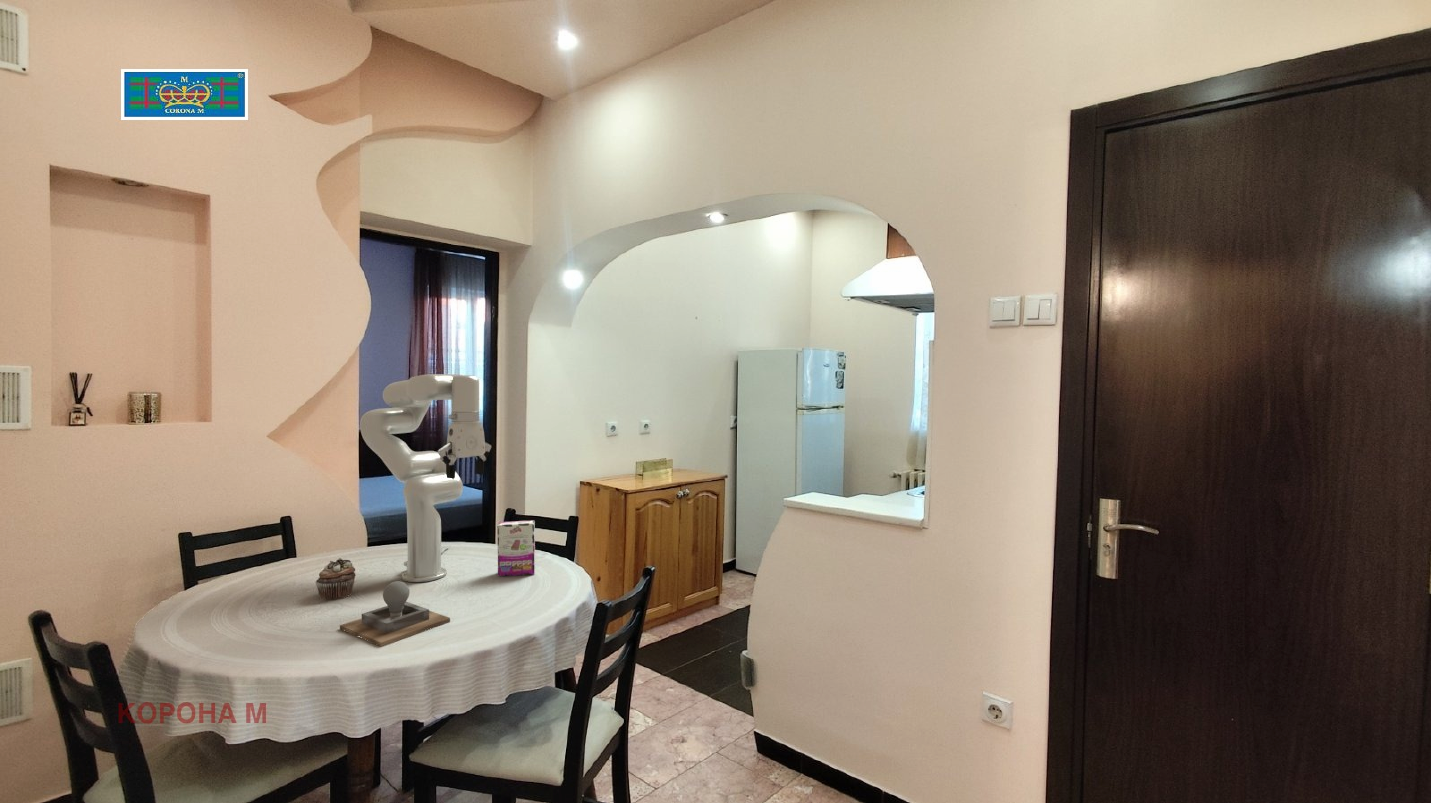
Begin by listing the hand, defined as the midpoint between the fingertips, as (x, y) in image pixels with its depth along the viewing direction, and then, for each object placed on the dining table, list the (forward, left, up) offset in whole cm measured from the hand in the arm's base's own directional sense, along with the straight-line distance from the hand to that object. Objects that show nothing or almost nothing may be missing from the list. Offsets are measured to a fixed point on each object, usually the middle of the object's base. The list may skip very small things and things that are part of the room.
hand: (465, 476), depth 186 cm
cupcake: (-25, -24, -34) cm, 48 cm away
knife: (-35, +12, -34) cm, 50 cm away
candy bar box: (+1, +18, -34) cm, 38 cm away
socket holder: (+9, -27, -33) cm, 44 cm away
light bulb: (+9, -27, -32) cm, 43 cm away
